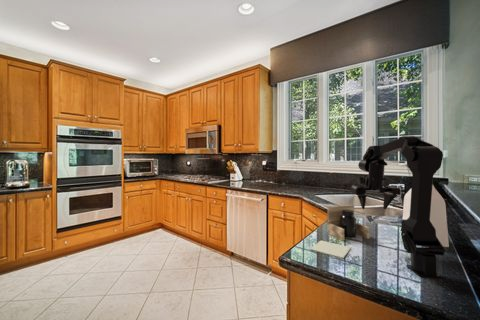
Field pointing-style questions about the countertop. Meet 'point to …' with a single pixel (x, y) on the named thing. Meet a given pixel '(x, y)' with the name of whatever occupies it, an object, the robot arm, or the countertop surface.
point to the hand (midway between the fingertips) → (373, 208)
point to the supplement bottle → (348, 223)
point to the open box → (334, 222)
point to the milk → (432, 215)
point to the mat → (331, 249)
